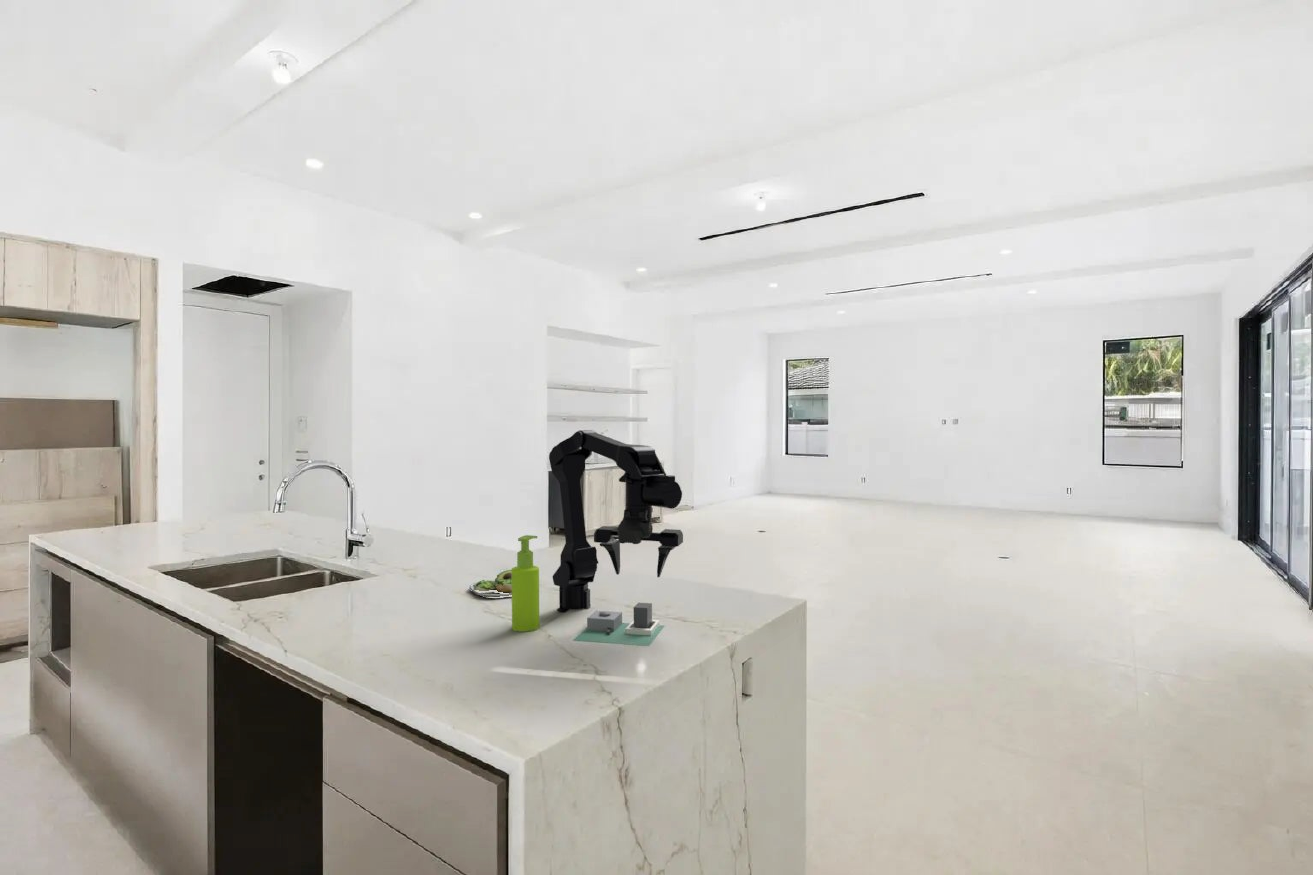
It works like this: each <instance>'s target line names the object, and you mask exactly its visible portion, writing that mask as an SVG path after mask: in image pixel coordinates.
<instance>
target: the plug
mask: <svg viewBox="0 0 1313 875" xmlns="http://www.w3.org/2000/svg"><path fill="white" fill-rule="evenodd" d="M633 620H634V628H646V629H650V628H651V627H652V620H653V603H651V602H650V603H649V602H637V603H636V604H635V605H634V606H633Z"/></svg>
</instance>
